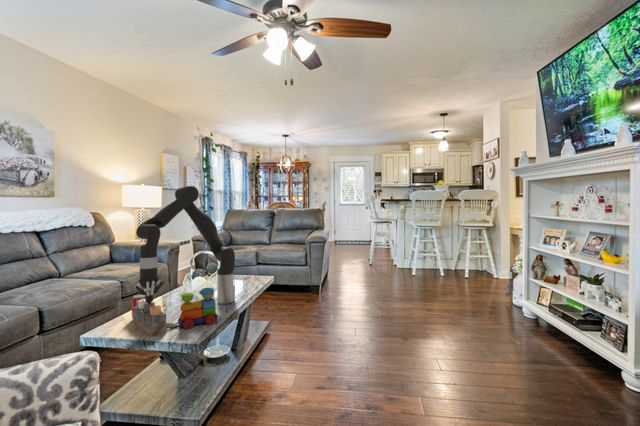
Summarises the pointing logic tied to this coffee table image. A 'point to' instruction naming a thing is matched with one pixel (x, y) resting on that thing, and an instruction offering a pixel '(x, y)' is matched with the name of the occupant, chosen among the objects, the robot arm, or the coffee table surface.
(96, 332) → the coffee table surface
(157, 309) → the plunger
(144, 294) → the robot arm
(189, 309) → the toy train
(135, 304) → the soda can
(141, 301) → the plunger
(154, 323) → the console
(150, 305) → the grey upright block
